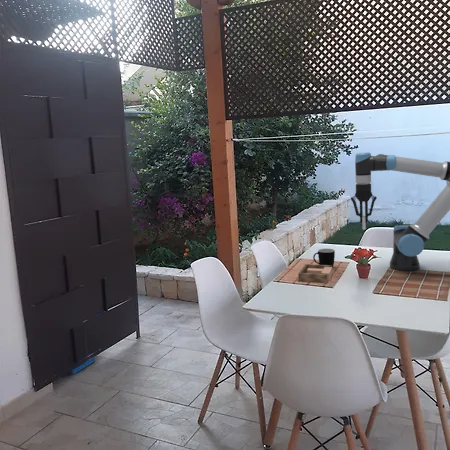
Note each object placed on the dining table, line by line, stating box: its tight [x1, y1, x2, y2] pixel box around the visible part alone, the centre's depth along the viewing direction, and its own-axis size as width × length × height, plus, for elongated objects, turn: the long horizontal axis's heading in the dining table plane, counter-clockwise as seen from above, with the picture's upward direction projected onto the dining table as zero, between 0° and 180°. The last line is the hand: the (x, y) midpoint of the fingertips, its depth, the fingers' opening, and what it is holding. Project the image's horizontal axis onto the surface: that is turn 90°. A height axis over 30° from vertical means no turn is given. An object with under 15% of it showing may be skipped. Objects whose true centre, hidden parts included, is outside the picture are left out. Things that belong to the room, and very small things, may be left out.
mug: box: [312, 248, 336, 269], centre depth 259 cm, size 12×9×10 cm
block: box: [307, 267, 334, 282], centre depth 243 cm, size 12×12×4 cm
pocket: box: [297, 263, 332, 284], centre depth 244 cm, size 14×18×4 cm
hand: (364, 229), depth 241 cm, fingers closed
